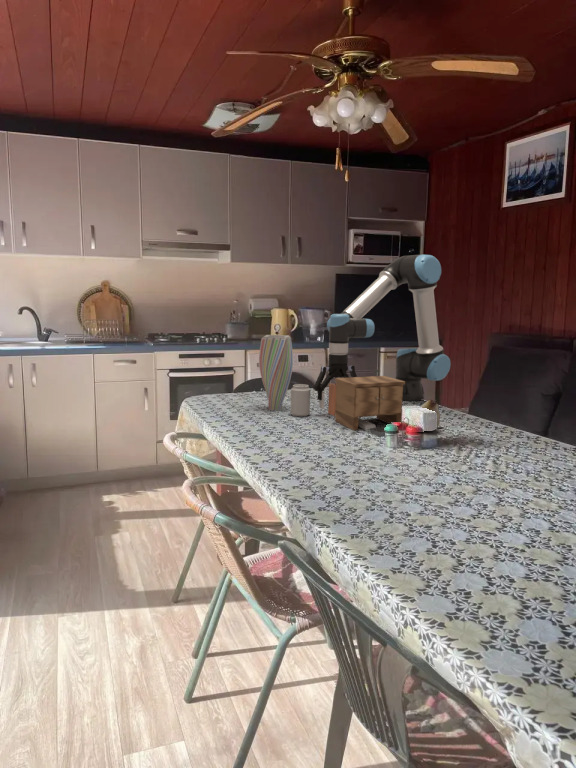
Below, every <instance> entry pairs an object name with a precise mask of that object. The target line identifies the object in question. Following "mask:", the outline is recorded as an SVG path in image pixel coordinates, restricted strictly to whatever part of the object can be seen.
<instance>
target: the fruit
mask: <svg viewBox="0 0 576 768" xmlns="http://www.w3.org/2000/svg"><path fill="white" fill-rule="evenodd" d="M419 407H422V408H427V409H429V410H432V411H435V412H436V413H437V427H438V428H439V426H440V420H441V414H440V411H439V404H438V402H437V399H436V398H434V399H429V400H427V401H426V402H424V403H423V404H422V405H420V406H419Z"/></svg>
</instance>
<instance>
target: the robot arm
mask: <svg viewBox="0 0 576 768" xmlns="http://www.w3.org/2000/svg"><path fill="white" fill-rule="evenodd" d="M441 275H442V266H441V263H440V261H439V260H438V259H437V258H436V257H435V255H434V256H433V255H431V254H423V253H422V254H413V255H403V256H400V257H398V258H397V259H396V258H395V260H393V261H392V262H391V263H390V264H388V265H387V266H386V267H384V268H383V270H382V271H380V272H379V275H378V277H377V279H375V280H374V281H373V282H372V283H371V284H370V285H369V286H368V287H367V288H366V289H365V290H363V292H362V293H361V294H359V295H358V296H357V297H356V299H354V300H353V301H352V302H351V304H349V305H348V306H347V307H346V308H345V309H344V310H343V311H342V312H341V313H333V314H331V315H330V317H329V319H328V320H327V321H326V322H327V323H326V329H327V332H328V333H329V334H328V339H329V341H328V353H329V354H328V366H323V365H322V366H321V367H320V373H319V374H318V376H317V379H316V381H315V384H314V385H313V390H314V391H317V400H318V401H319V402H318V403H319V404H318V405H319V406H318V407H319V409H321V410H325V392H324V390H325V389H326V387H327V386H329V384H330V382H331V381H332V380H333V379H334V378H350V376H351V377H358V376H357V373H356V369H355V368H356V367H355V365H353V364H350V365H348V362H349V359H348V358H349V355H348V353H349V342H350V341H349V340H350V339H353V338H354V339H360V338H361V339H366V338H371V337H372V336H374V333H375V328H376V327H375V323H374V321H373V319H370V318H363V317H364V316H365V315H367V313H369V312H370V311H371V309H373V308H374V307H375V306H376V305H377V304H378V303H379V302H380V301H381V300H382V299H383V298H384V297H385V296H386V295H387V294H389V292H390V291H391V290H396V289H397V288H398V287H400V286H401V285H402V284H407V286H408V291H410V292H411V293H412V297H413V307H414V313H415V314H414V315H415V322H416V333H417V341H418V347H417V348H416V347H415V348H414V347H413V348H399V349H398V350H397V351H396V352H397V353H396V357H395V359H396V360H395V379H397V380H401V381H405V384H403V397H402V401H406V402H407V401H409V402H410V401H411V402H412V401H415V402H416V401H423V400H425V392H424V386H423V383H422V379H424V380H429V381H442V380H444V379H445V378H446V377H447V375H448V373H449V372H450V369H451V366H452V365H451V359H450V357H449V356H448V355H447V354H444V347H443V346H442V345H440V341H439V330H438V322H437V321H438V320H437V312H436V311H437V310H436V301H435V291H434V290H435V288H437V286H438V285H437V284H438V283H437V282H438V281H439V280H440V278H441ZM347 372H349V374H350V376H349V374H348V373H347ZM326 373H327V375H326ZM325 376H326V377H325Z"/></svg>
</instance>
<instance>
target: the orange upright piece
mask: <svg viewBox="0 0 576 768" xmlns="http://www.w3.org/2000/svg"><path fill="white" fill-rule="evenodd" d="M327 408H328V409H327V412H328V413H327V414H329V415H330V416H333V417H335V408H336V382H335V383H328V407H327ZM358 428H361V429H363V430H366V431H367V430H369V431H370V428H377V427H376V424H374V423H372V422H369V421H367V420H364V419H362V418H361V417H358Z"/></svg>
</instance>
